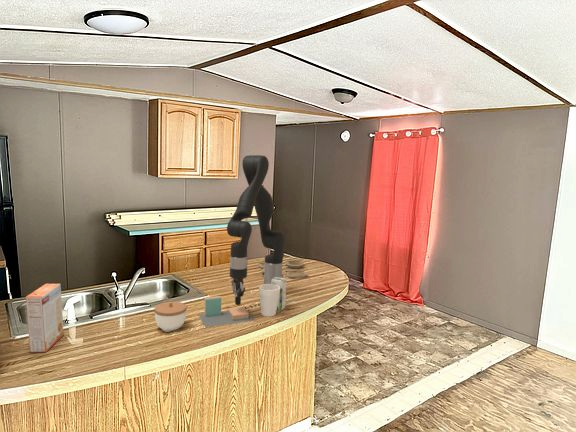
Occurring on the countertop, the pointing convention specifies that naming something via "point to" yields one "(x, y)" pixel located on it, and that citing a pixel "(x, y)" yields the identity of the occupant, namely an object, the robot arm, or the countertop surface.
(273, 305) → the foam cup
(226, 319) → the mat
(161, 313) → the lidded bowl
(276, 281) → the syrup box
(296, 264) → the tableware set
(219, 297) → the tile
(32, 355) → the countertop surface
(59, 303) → the cracker box
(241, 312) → the tile
